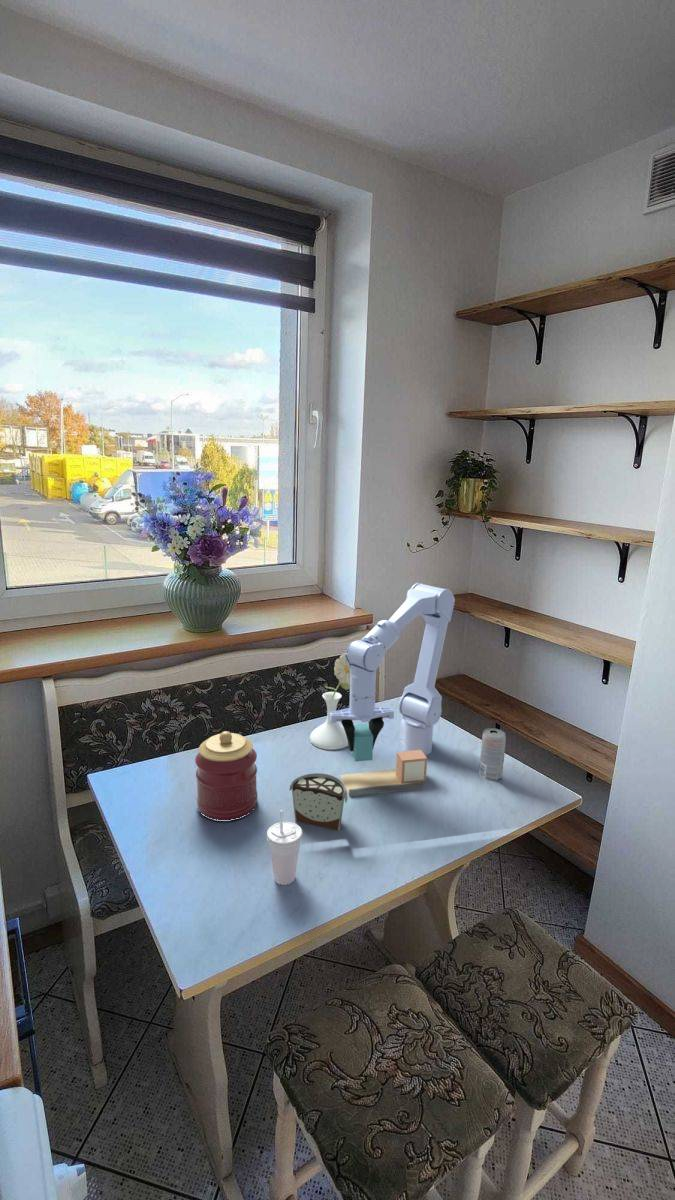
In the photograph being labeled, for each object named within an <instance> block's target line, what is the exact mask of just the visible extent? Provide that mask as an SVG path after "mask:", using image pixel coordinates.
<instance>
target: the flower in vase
mask: <svg viewBox="0 0 675 1200" xmlns="http://www.w3.org/2000/svg"><path fill="white" fill-rule="evenodd" d="M345 654H346V653H343V654H342V655H340V656H339V658H337V659H336V660H335V662H334V667H333V669H334V673H333V674H334V676H336V679H337V680H338V685H337V686H336V688H335V687H330V686H327V685H326V684H323V686H324V688H325V689H330V690H333V691H328V692H324V693H323V694H322V698H323V700H324V701H325V703H326V709H327V712H326V713H327V717H326V721H324V723H322V724H321V725H318V727H316V728H314V730H312V731H311V733H310V735H309V741H310V743H311V744H312V745H313V746H315V747H316V748H318V749H321V750H322V749H323V750H326V751H337V750H341V749H344V748H347V747H348V740H347V736H346V733H345V730H344V727H343V725H342V724H340V723H339V721H338V722H336V723H331V722H330V712H334V711H337V708H338V703H339V701H340V700H341V698H342V694H341V693H340V692H337V691H338V689H339V687H341V688H342V689H344V690H346V691H347V690H350V671H349V670H348V663H347V662H346V660H345Z"/></svg>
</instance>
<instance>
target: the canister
mask: <svg viewBox="0 0 675 1200" xmlns="http://www.w3.org/2000/svg"><path fill="white" fill-rule="evenodd" d="M257 757H258V753H257V751H256V750H255V748H254V746H253V742H252V740H250V739H249V738H247V737H246V736H243V735H241V734H239V733H234V732H230V731H227V730H225V731H221V733H217V734H215V735H211V736H210V737H208V738H207V739H205V740H204V741H202V743H200V745H199V747H198V753H197V754H196V756H195V758H194V759H195V760H194V762H195V765H196V767H197V769H196V770H195V777H196V786H197V790H196V791H197V793H196V794H197V796H196V805H197V808H198V811H199V810H200V812H201V813H202V814H204V815H205V816H207V817H209V818H212V819H216V820H217V819H218V820H231V819H236V818H240V817H242V816H244V815H247V814H248V813H250V812H251V811H252V810H253V809H254V808H255V809H256V807H257V802H258V789H257V773H258V767H257V765H256V763H255V762H256V761H257ZM255 806H256V807H255ZM255 809H254V810H255ZM254 810H253V811H254ZM253 811H252V812H253ZM200 812H199V813H200ZM252 812H251V813H252ZM201 813H200V814H201ZM251 813H250V814H251ZM247 816H248V815H247Z"/></svg>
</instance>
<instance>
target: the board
mask: <svg viewBox="0 0 675 1200" xmlns="http://www.w3.org/2000/svg"><path fill="white" fill-rule="evenodd" d="M340 777H341V781H342V782H343V784H344V786H345V788H346V791H347V796H348V797H354V796H356V797H357V796H364V795H365V796H366V795H372V794H373V795H374V794H382V793H391V792H392V793H393V792H399V791H407V790H408V791H409V790H416V789H417V790H418V789H422V787H423V786H422V785H423V784H422V783H423V782H421V781H420V782H411V783H402V784H401V783H400V781H399V779H398V778H397V776H396V768H394V769H386V770H385V769H384V770H375V771H365V772H357V773H345V774H340Z"/></svg>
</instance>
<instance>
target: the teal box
mask: <svg viewBox="0 0 675 1200" xmlns="http://www.w3.org/2000/svg"><path fill="white" fill-rule="evenodd" d="M353 725H354V727H355V730H354V738H353V742H354V748H353V751H350V753H351V755H352V758H353V760H354V762H366V761H373V754H374V753H373V752H374V751H373V750H374V748H373V735H372V733H371V731H370V729H369V725H368V724H367V723H361V724H360V723H358V724H353Z"/></svg>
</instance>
